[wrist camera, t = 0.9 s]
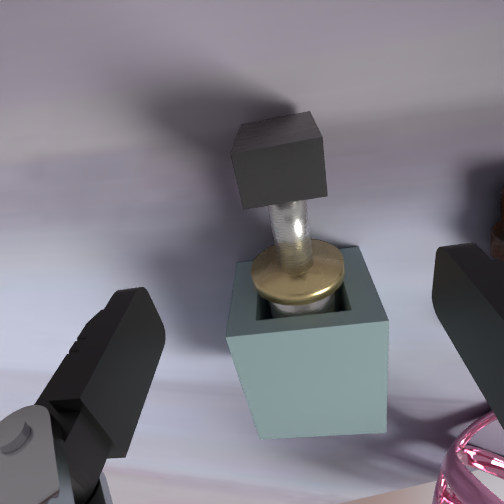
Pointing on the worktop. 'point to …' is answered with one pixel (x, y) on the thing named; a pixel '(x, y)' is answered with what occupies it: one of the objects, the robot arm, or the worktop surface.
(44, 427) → the robot arm
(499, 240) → the bolt
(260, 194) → the plunger
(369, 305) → the housing
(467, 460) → the spiral basket
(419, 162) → the worktop surface
